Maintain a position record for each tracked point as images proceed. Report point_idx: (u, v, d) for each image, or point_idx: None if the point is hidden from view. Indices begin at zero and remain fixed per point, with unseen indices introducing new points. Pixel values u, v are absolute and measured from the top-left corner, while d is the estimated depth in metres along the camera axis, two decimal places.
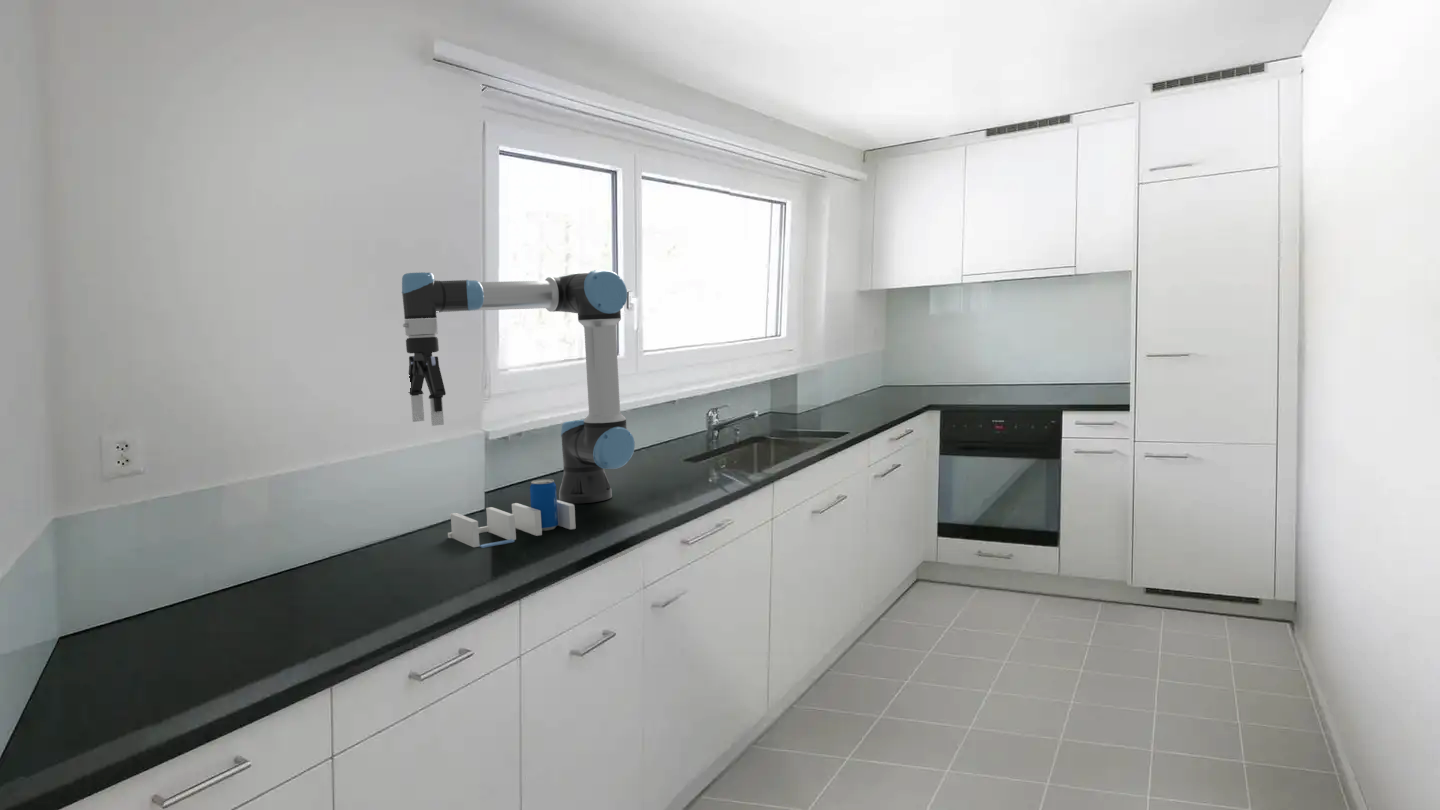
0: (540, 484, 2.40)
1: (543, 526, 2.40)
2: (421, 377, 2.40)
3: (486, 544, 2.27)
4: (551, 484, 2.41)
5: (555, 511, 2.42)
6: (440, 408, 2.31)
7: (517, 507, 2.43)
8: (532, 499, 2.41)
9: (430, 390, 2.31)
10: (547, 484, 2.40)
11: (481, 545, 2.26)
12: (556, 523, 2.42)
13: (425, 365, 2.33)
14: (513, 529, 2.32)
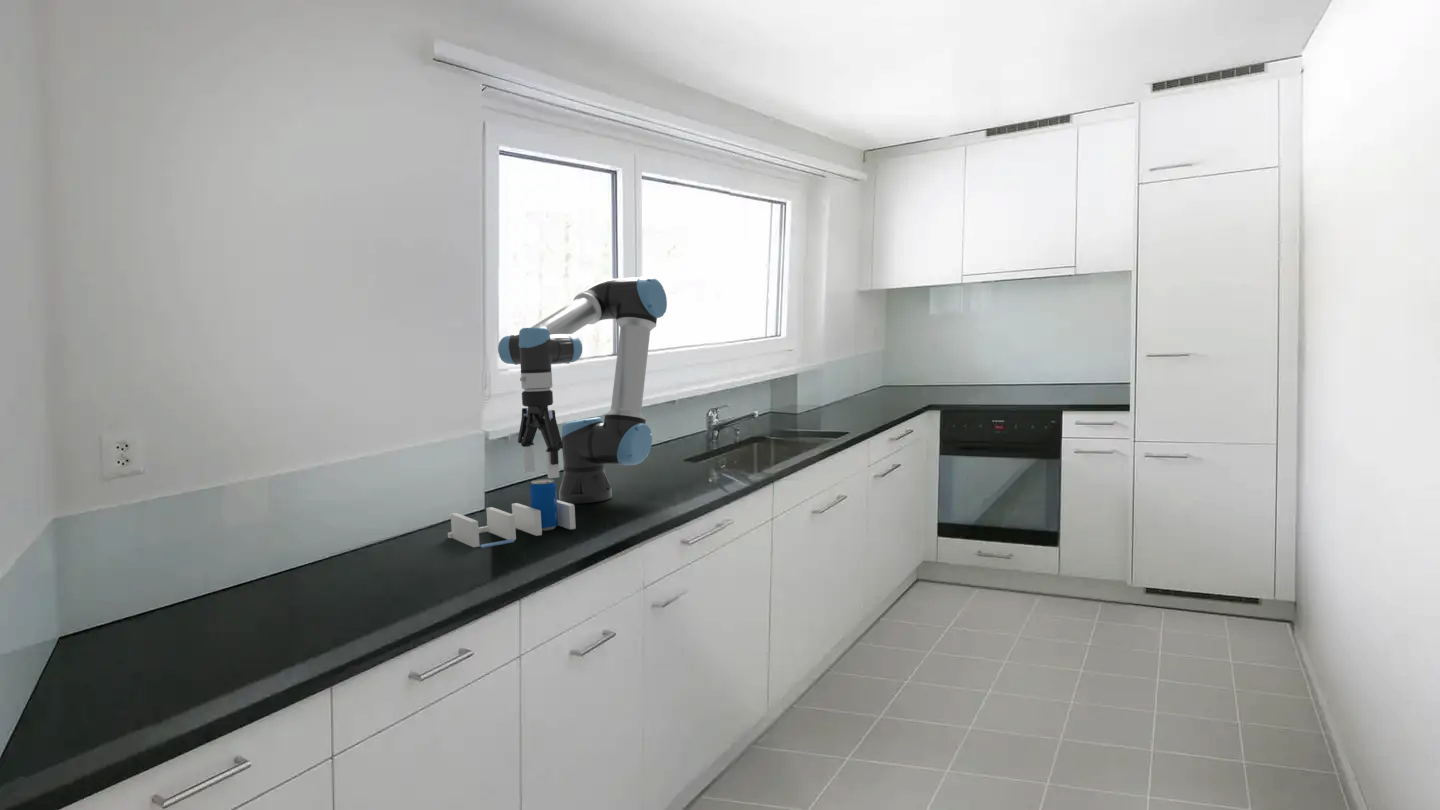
0: (540, 484, 2.40)
1: (543, 526, 2.40)
2: (534, 429, 2.44)
3: (486, 544, 2.27)
4: (551, 484, 2.41)
5: (555, 511, 2.42)
6: (557, 461, 2.35)
7: (517, 507, 2.43)
8: (532, 499, 2.41)
9: (547, 443, 2.35)
10: (547, 484, 2.40)
11: (481, 545, 2.26)
12: (556, 523, 2.42)
13: (541, 418, 2.37)
14: (513, 529, 2.32)
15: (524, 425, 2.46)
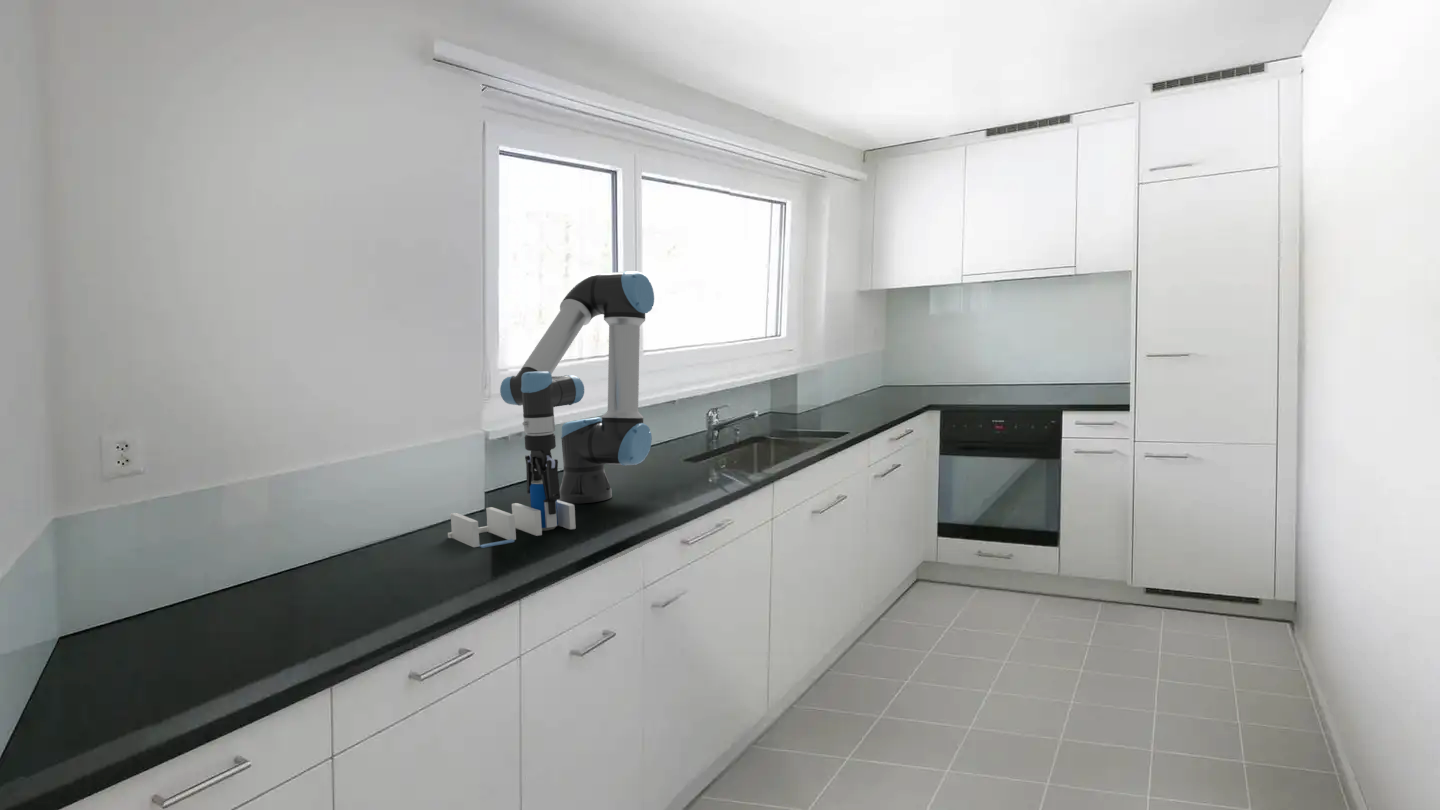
0: (540, 484, 2.40)
1: (543, 526, 2.40)
2: (540, 474, 2.44)
3: (486, 544, 2.27)
4: None
5: None
6: (554, 511, 2.39)
7: (517, 507, 2.43)
8: (532, 499, 2.41)
9: (546, 493, 2.38)
10: None
11: (481, 545, 2.26)
12: None
13: (543, 463, 2.39)
14: (513, 529, 2.32)
15: (530, 472, 2.46)
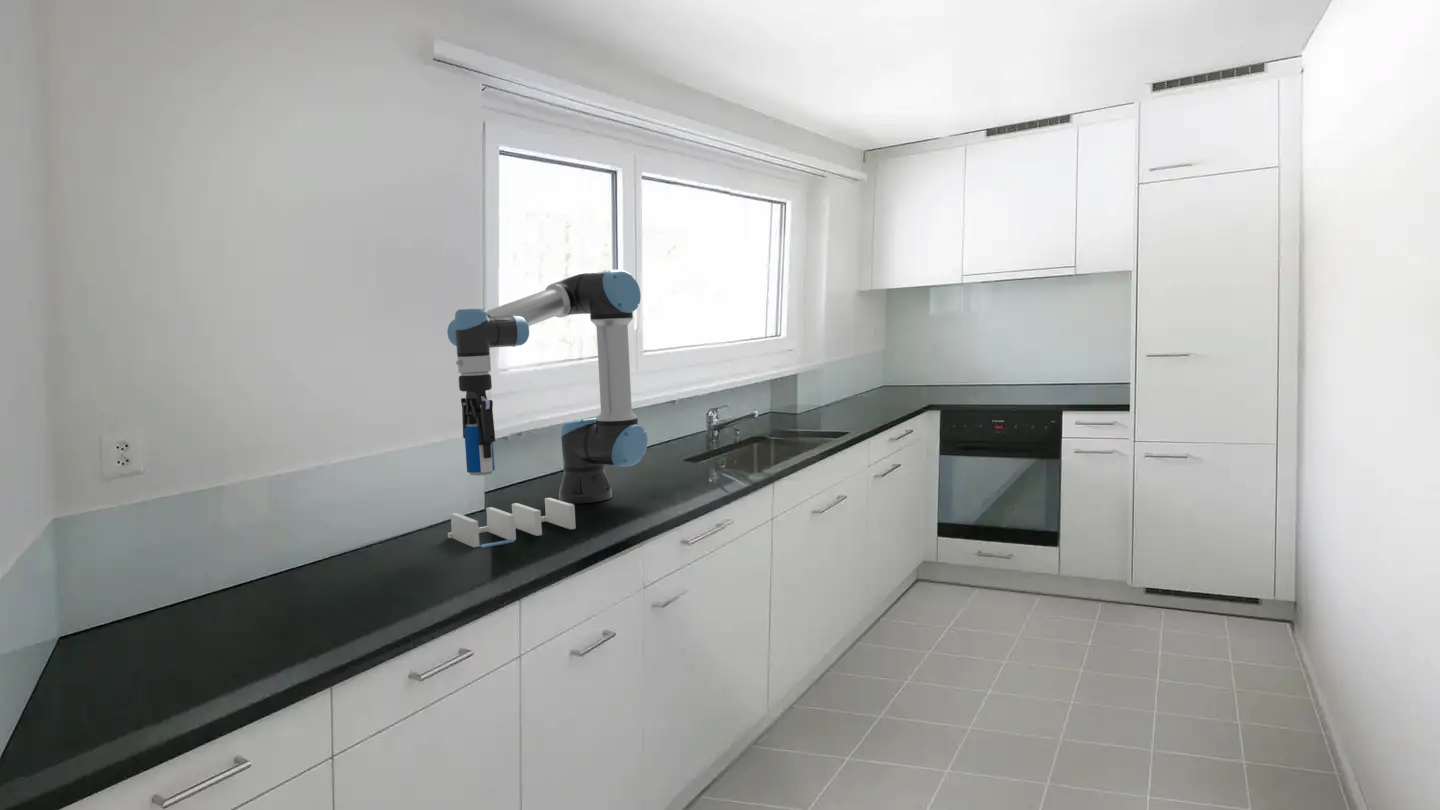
0: (474, 426, 2.29)
1: (478, 470, 2.29)
2: (476, 418, 2.33)
3: (486, 544, 2.27)
4: None
5: None
6: (489, 455, 2.28)
7: (517, 507, 2.43)
8: (466, 442, 2.30)
9: (480, 435, 2.28)
10: None
11: (481, 545, 2.26)
12: None
13: (478, 404, 2.28)
14: (513, 529, 2.32)
15: (466, 416, 2.35)
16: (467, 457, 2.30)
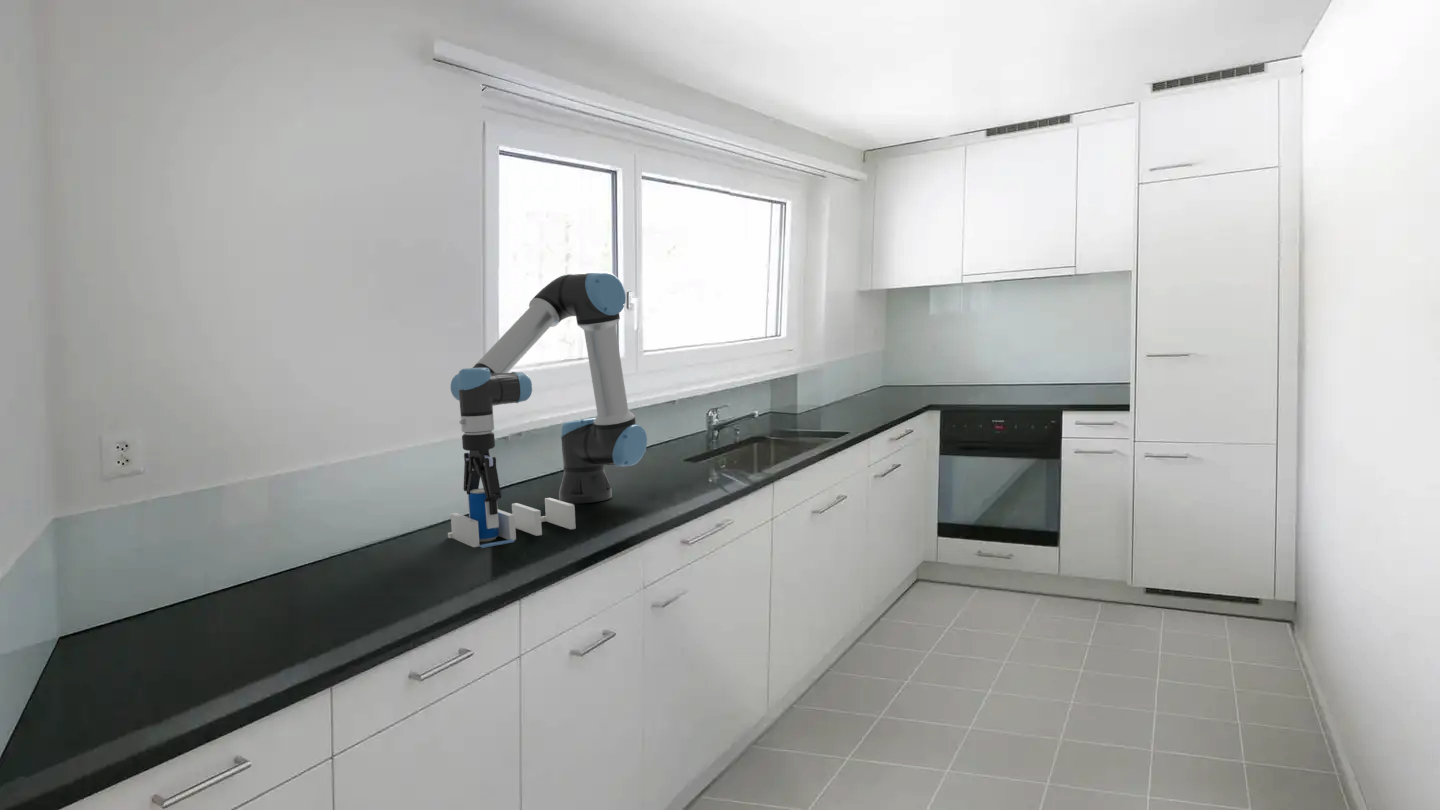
0: (479, 493, 2.30)
1: (482, 537, 2.31)
2: (477, 474, 2.35)
3: (486, 544, 2.27)
4: None
5: None
6: (495, 511, 2.28)
7: (517, 507, 2.43)
8: (470, 509, 2.31)
9: (486, 492, 2.28)
10: None
11: (481, 545, 2.26)
12: (496, 534, 2.33)
13: (482, 463, 2.29)
14: (513, 529, 2.32)
15: (468, 471, 2.37)
16: None
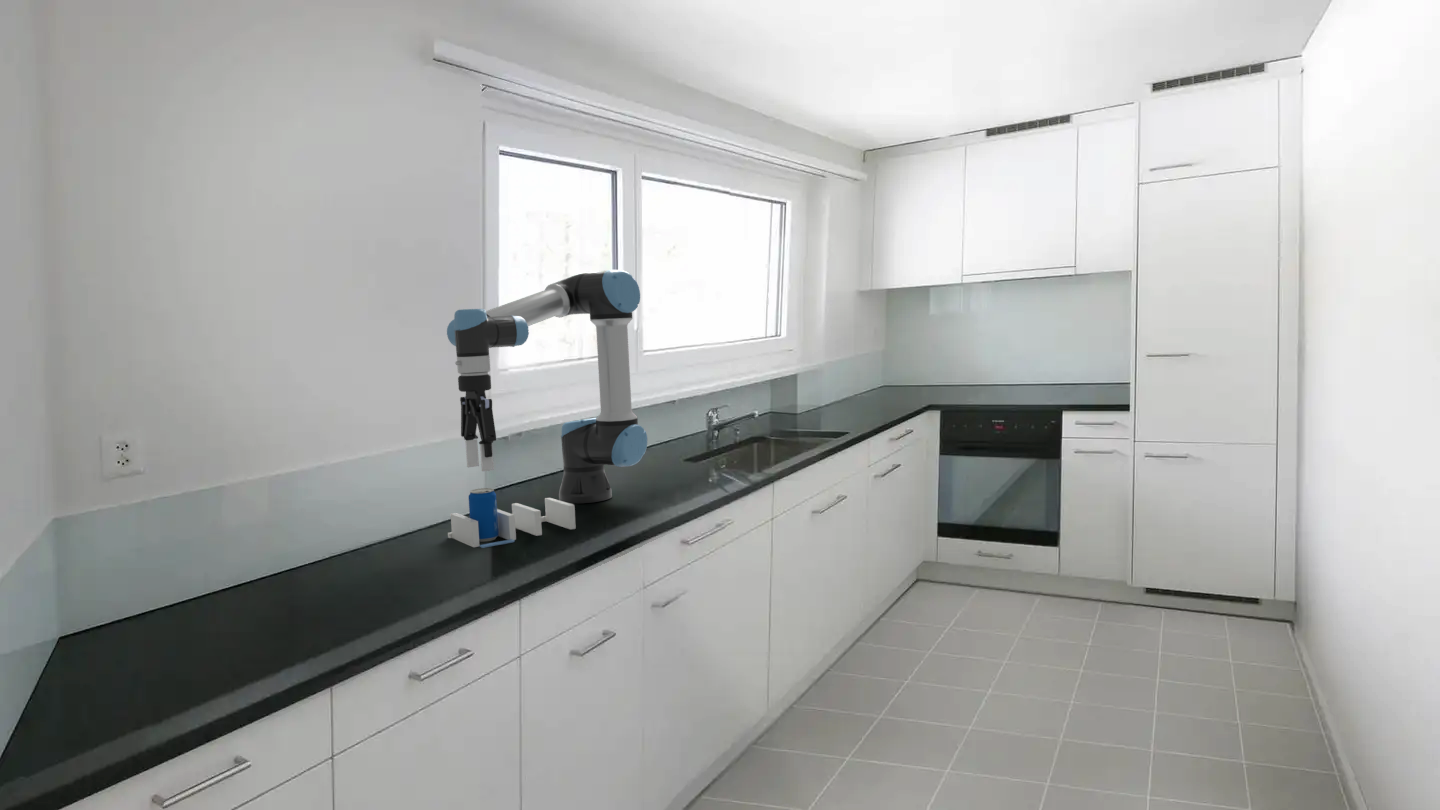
0: (479, 493, 2.30)
1: (482, 537, 2.31)
2: (474, 417, 2.34)
3: (486, 544, 2.27)
4: (490, 493, 2.32)
5: (495, 521, 2.32)
6: (490, 454, 2.27)
7: (517, 507, 2.43)
8: (470, 509, 2.31)
9: (481, 435, 2.27)
10: (486, 493, 2.31)
11: (481, 545, 2.26)
12: (496, 534, 2.33)
13: (478, 404, 2.28)
14: (513, 529, 2.32)
15: (464, 415, 2.35)
16: None
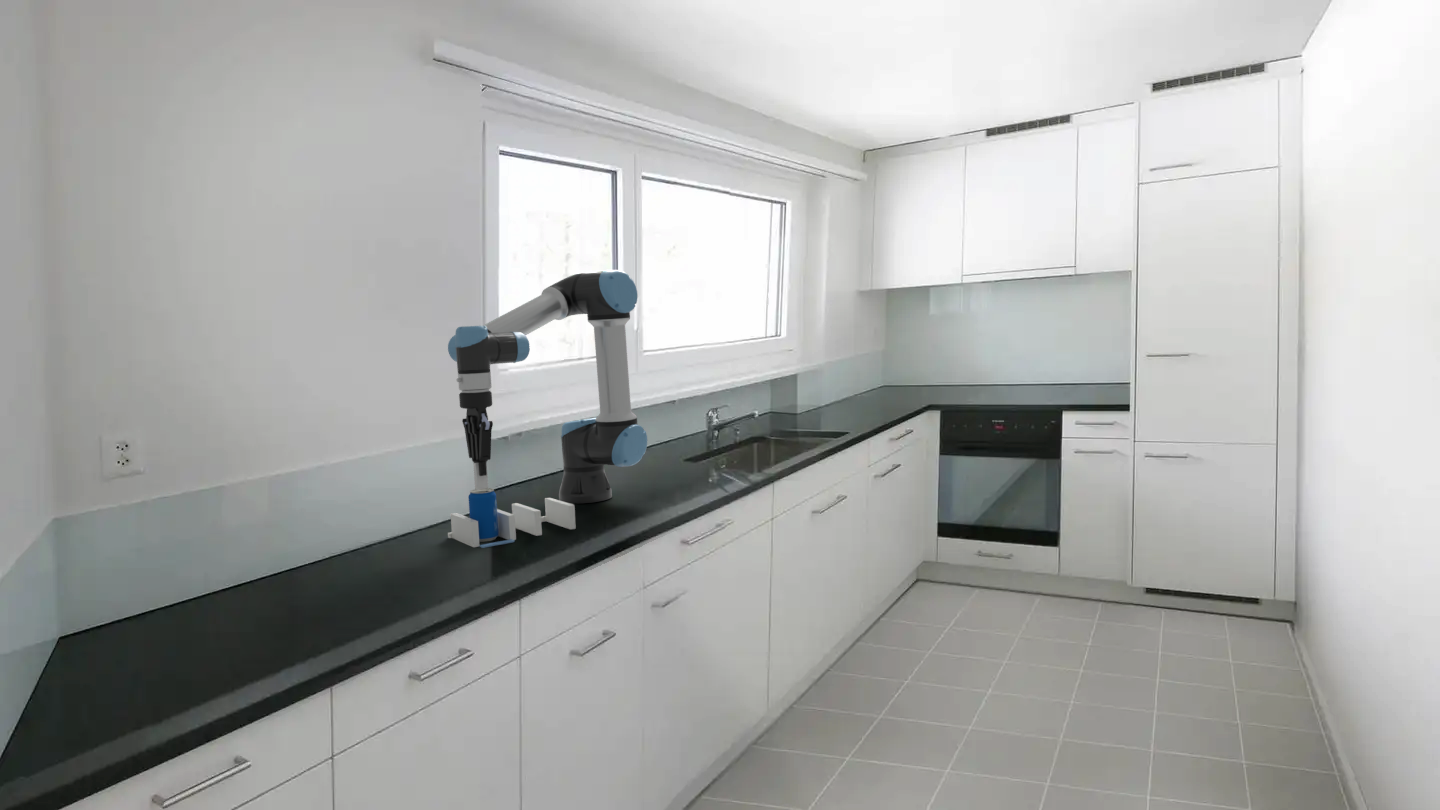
0: (479, 493, 2.30)
1: (482, 537, 2.31)
2: None
3: (486, 544, 2.27)
4: (490, 493, 2.31)
5: (495, 521, 2.32)
6: (485, 472, 2.31)
7: (517, 507, 2.43)
8: (470, 509, 2.31)
9: (476, 453, 2.30)
10: (486, 493, 2.31)
11: (481, 545, 2.26)
12: (496, 534, 2.33)
13: None
14: (513, 529, 2.32)
15: (469, 435, 2.34)
16: None
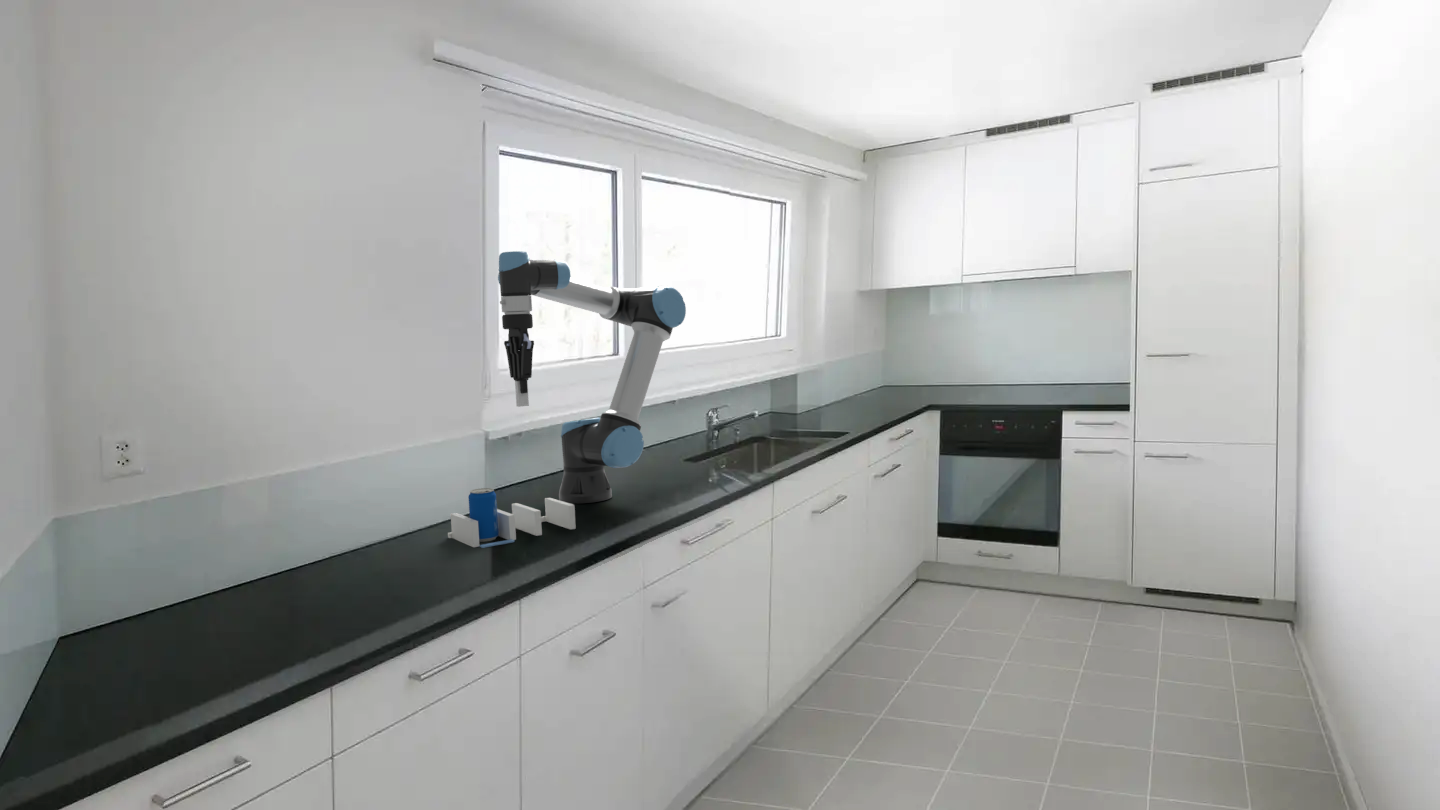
0: (478, 493, 2.30)
1: (482, 537, 2.31)
2: None
3: (486, 544, 2.27)
4: (490, 493, 2.32)
5: (495, 521, 2.32)
6: (526, 390, 2.46)
7: (517, 507, 2.43)
8: (470, 509, 2.31)
9: (518, 372, 2.45)
10: (486, 493, 2.31)
11: (481, 545, 2.26)
12: (496, 534, 2.33)
13: None
14: (513, 529, 2.32)
15: (511, 356, 2.49)
16: None
